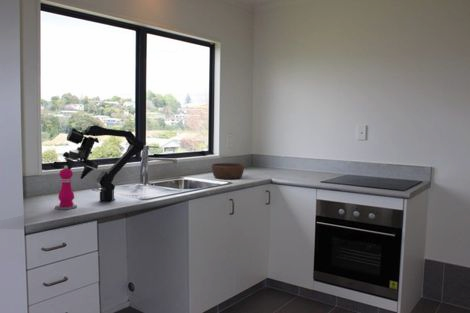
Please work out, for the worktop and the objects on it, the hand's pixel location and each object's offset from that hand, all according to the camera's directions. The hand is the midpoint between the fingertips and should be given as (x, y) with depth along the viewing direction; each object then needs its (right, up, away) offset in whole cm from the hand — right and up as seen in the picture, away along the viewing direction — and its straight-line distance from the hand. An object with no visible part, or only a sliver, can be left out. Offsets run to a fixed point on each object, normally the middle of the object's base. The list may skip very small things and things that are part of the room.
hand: (74, 175), depth 210 cm
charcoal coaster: (-1, -15, -8) cm, 17 cm away
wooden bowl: (+77, -7, +105) cm, 131 cm away
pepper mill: (-1, -15, -8) cm, 17 cm away
